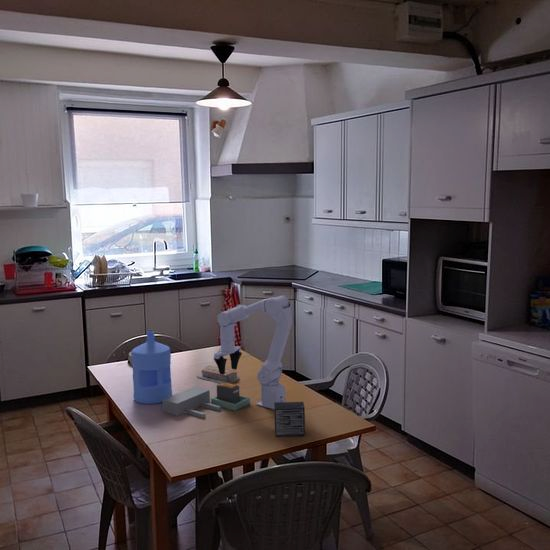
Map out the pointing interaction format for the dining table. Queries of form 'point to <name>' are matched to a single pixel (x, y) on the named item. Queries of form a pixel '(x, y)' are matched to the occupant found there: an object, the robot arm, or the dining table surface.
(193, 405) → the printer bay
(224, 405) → the tray
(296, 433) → the small box
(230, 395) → the grey block orange panel
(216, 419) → the dining table surface
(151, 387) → the water jug
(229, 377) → the packaged product
